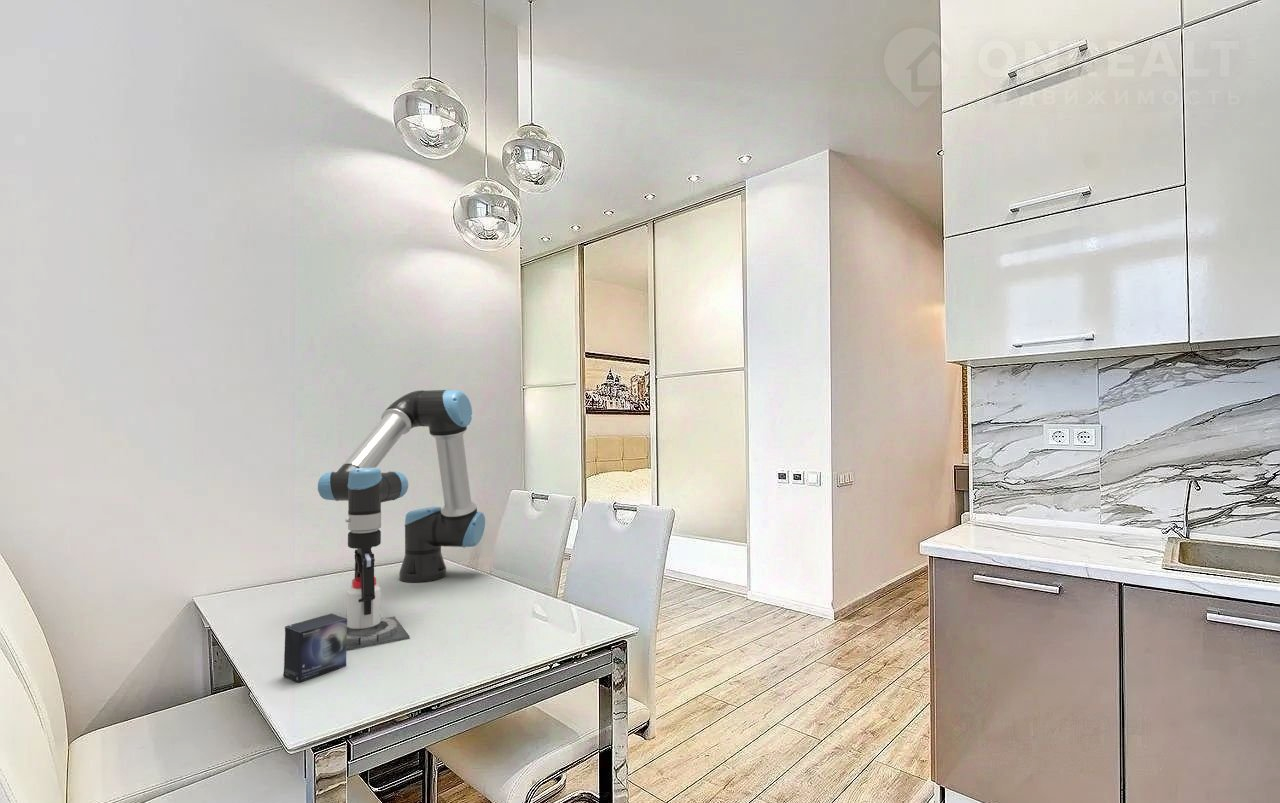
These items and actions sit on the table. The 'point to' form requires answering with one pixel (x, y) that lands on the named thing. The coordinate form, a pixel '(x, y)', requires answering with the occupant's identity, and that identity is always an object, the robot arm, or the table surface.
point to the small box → (315, 647)
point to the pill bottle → (355, 605)
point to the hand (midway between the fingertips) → (363, 622)
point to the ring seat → (376, 634)
